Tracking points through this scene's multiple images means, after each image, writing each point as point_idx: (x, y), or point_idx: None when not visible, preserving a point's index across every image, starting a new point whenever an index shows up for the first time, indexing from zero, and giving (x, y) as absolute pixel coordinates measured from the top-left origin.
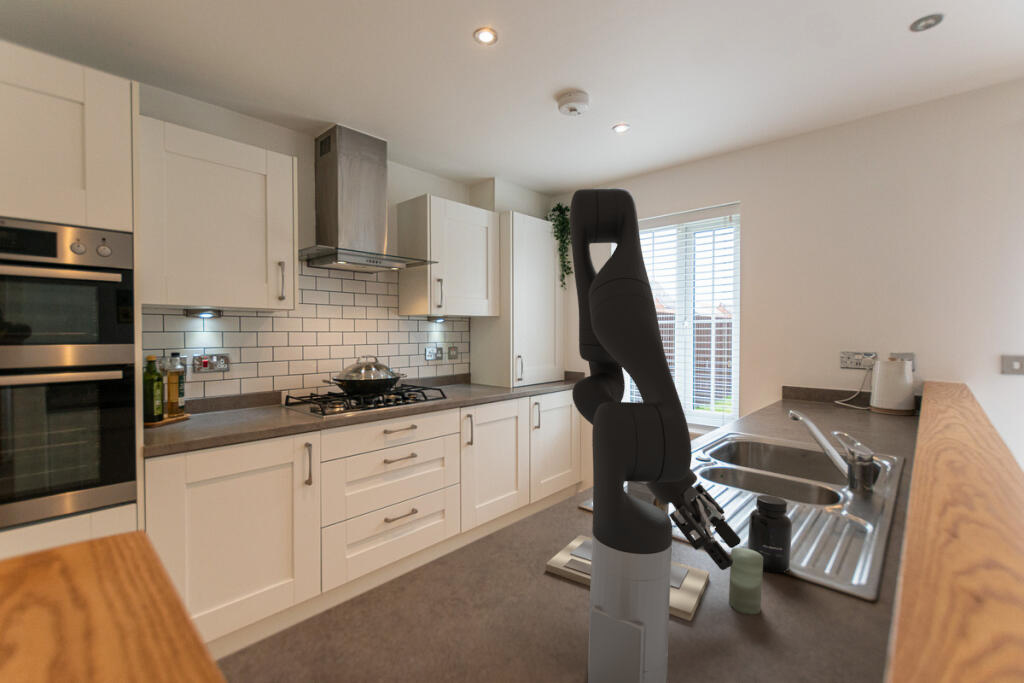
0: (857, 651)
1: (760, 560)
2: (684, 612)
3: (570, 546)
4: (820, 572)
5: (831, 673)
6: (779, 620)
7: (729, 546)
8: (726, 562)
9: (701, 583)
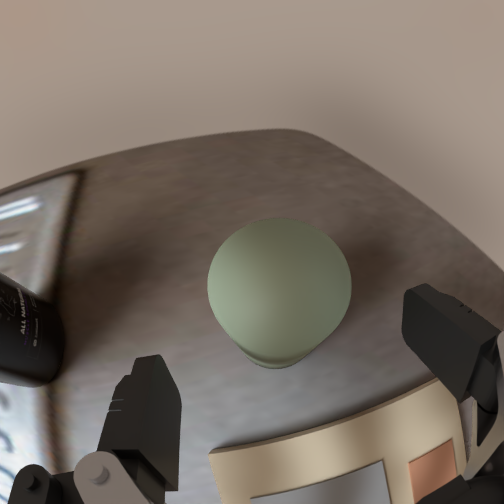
0: (260, 145)
1: (289, 221)
2: None
3: None
4: (22, 253)
5: (356, 158)
6: None
7: (179, 403)
8: (446, 296)
9: (299, 442)
